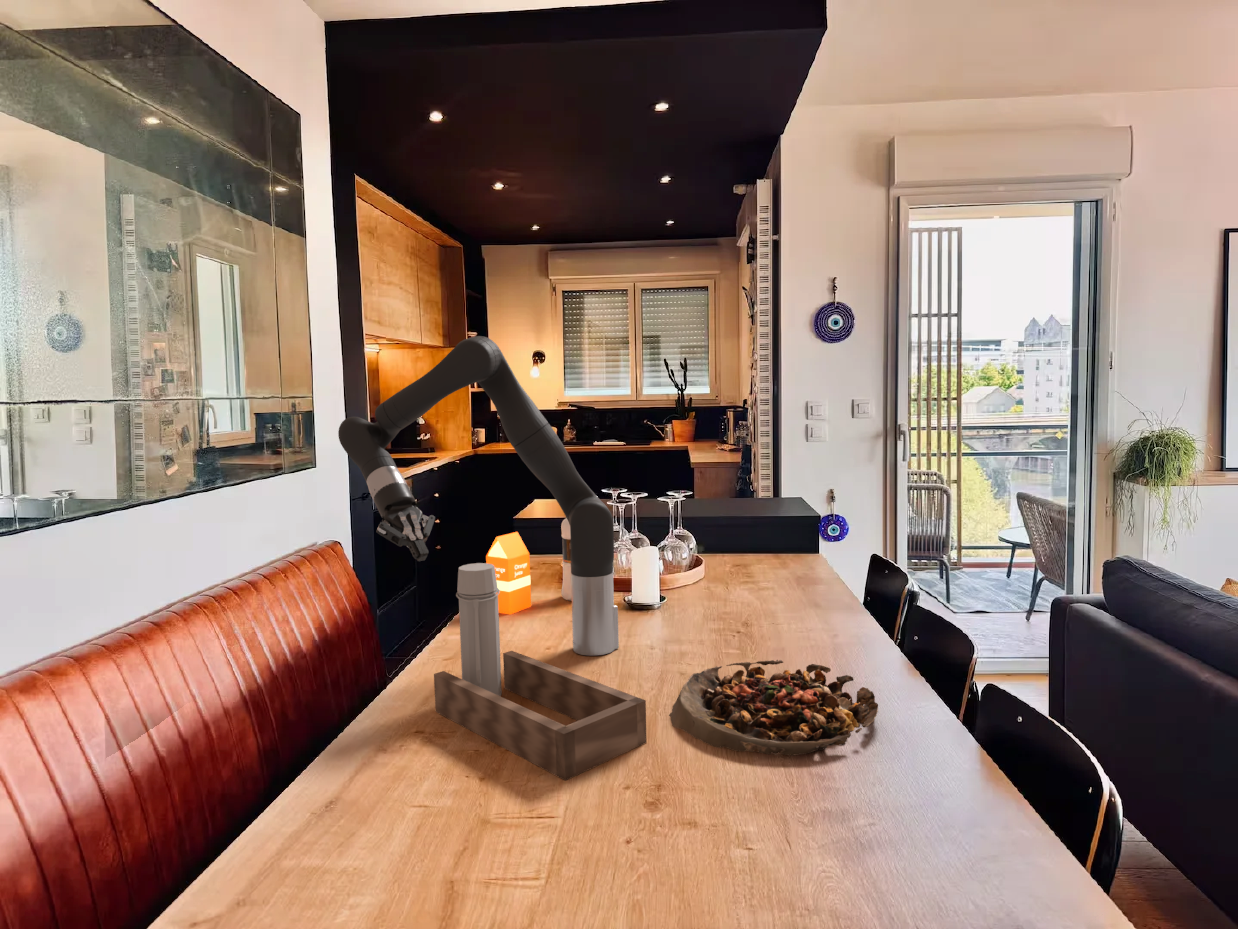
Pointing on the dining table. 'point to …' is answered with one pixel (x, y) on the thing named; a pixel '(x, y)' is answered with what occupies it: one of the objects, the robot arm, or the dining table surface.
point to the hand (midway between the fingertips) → (423, 558)
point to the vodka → (566, 560)
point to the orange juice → (511, 572)
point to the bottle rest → (561, 750)
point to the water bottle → (479, 626)
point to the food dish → (771, 710)
